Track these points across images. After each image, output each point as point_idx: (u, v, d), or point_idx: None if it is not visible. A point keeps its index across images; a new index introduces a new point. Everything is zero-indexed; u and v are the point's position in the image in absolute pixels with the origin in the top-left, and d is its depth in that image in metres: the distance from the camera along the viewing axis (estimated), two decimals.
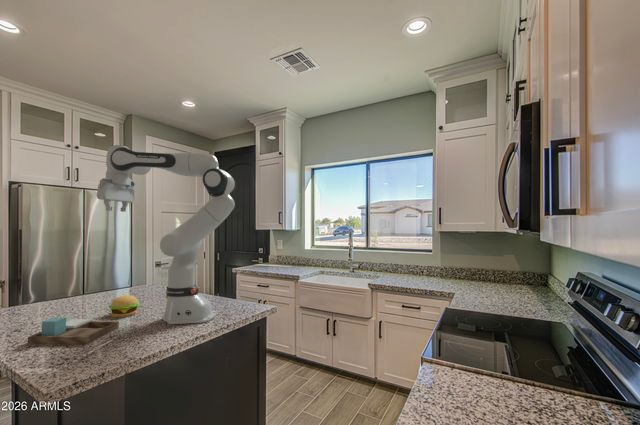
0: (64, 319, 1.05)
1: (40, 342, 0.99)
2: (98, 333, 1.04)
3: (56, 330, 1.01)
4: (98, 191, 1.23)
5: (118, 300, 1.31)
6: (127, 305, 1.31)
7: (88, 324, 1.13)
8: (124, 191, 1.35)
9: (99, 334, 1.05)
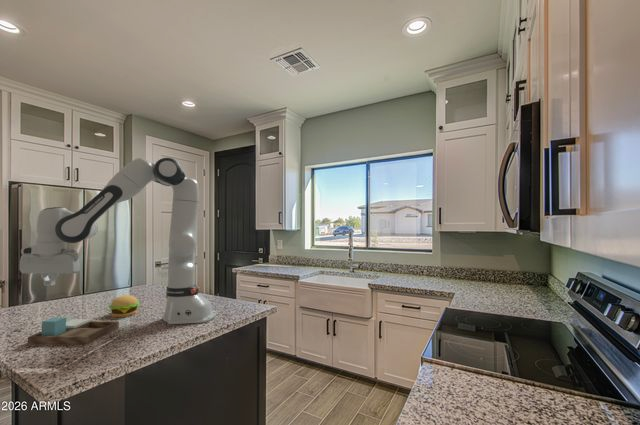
0: (64, 319, 1.05)
1: (40, 342, 0.99)
2: (98, 333, 1.04)
3: (56, 330, 1.01)
4: (74, 264, 1.10)
5: (118, 300, 1.31)
6: (127, 305, 1.31)
7: (88, 324, 1.13)
8: None
9: (99, 334, 1.05)
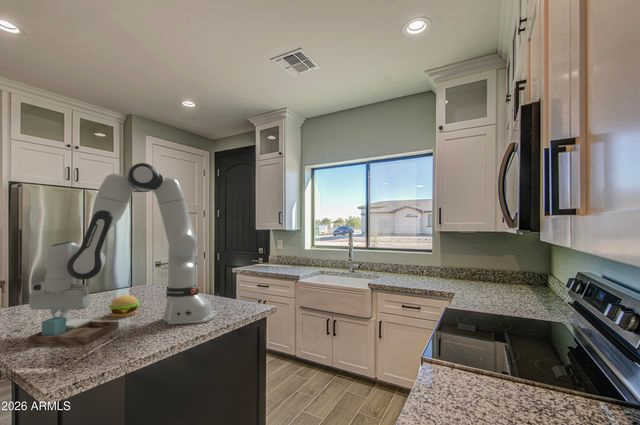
0: (64, 319, 1.05)
1: (40, 342, 0.99)
2: (98, 333, 1.04)
3: (56, 330, 1.01)
4: (83, 300, 1.10)
5: (118, 300, 1.31)
6: (127, 305, 1.31)
7: (88, 324, 1.13)
8: None
9: (99, 334, 1.05)
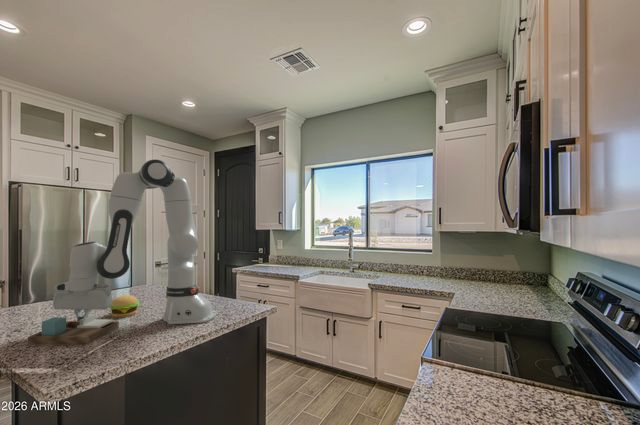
0: (64, 319, 1.05)
1: (40, 342, 0.99)
2: (98, 333, 1.04)
3: (56, 330, 1.01)
4: (107, 300, 1.10)
5: (118, 300, 1.31)
6: (127, 305, 1.31)
7: None
8: None
9: (99, 334, 1.05)
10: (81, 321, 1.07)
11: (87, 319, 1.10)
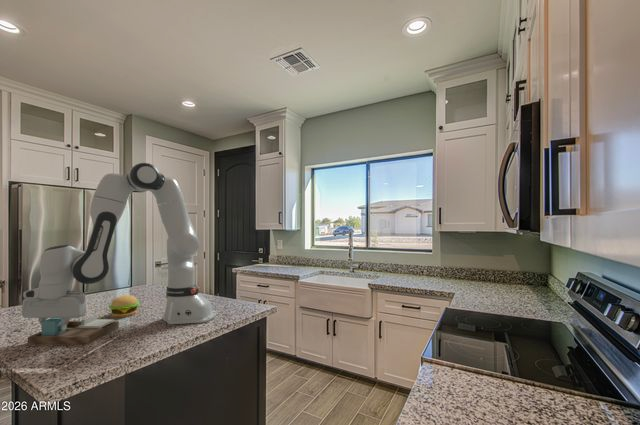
0: None
1: (40, 342, 0.99)
2: (98, 333, 1.04)
3: (56, 330, 1.01)
4: (80, 308, 1.02)
5: (118, 300, 1.31)
6: (127, 305, 1.31)
7: None
8: None
9: (99, 334, 1.05)
10: (82, 321, 1.07)
11: (88, 319, 1.10)
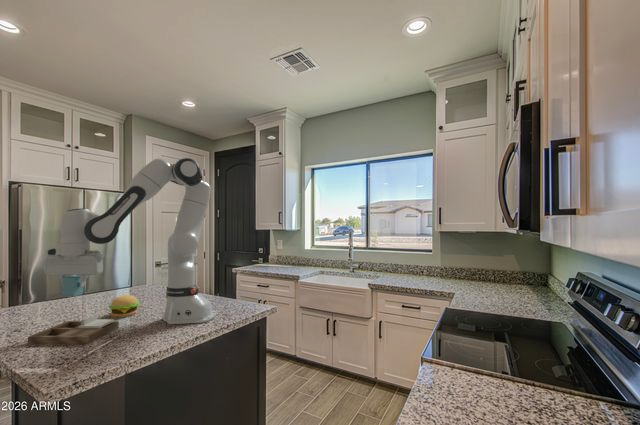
0: None
1: (40, 342, 0.99)
2: (98, 333, 1.04)
3: (75, 286, 1.09)
4: (98, 266, 1.10)
5: (118, 300, 1.31)
6: (127, 305, 1.31)
7: None
8: None
9: (99, 334, 1.05)
10: (82, 321, 1.07)
11: (88, 319, 1.10)
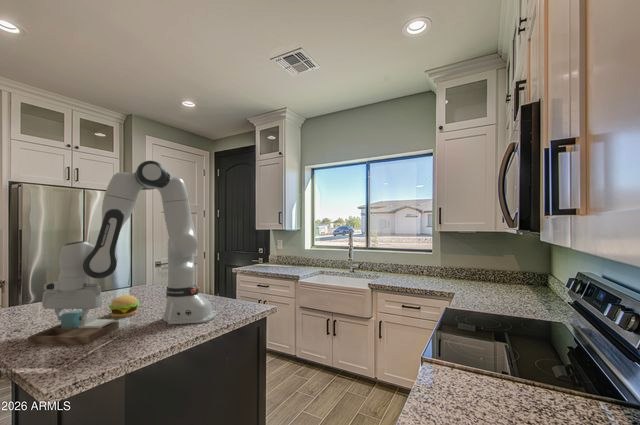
0: (81, 313, 1.12)
1: (40, 342, 0.99)
2: (98, 333, 1.04)
3: (74, 323, 1.09)
4: (96, 299, 1.10)
5: (118, 300, 1.31)
6: (127, 305, 1.31)
7: None
8: None
9: (99, 334, 1.05)
10: (82, 321, 1.07)
11: (88, 319, 1.10)
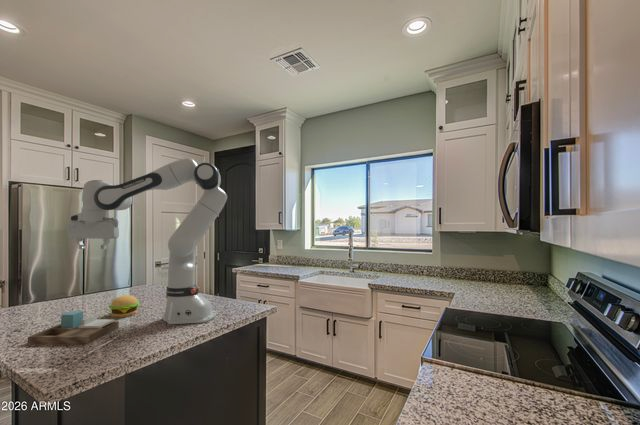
0: (81, 313, 1.12)
1: (40, 342, 0.99)
2: (98, 333, 1.04)
3: (74, 323, 1.09)
4: (114, 230, 1.25)
5: (118, 300, 1.31)
6: (127, 305, 1.31)
7: None
8: None
9: (99, 334, 1.05)
10: (82, 321, 1.07)
11: (88, 319, 1.10)
